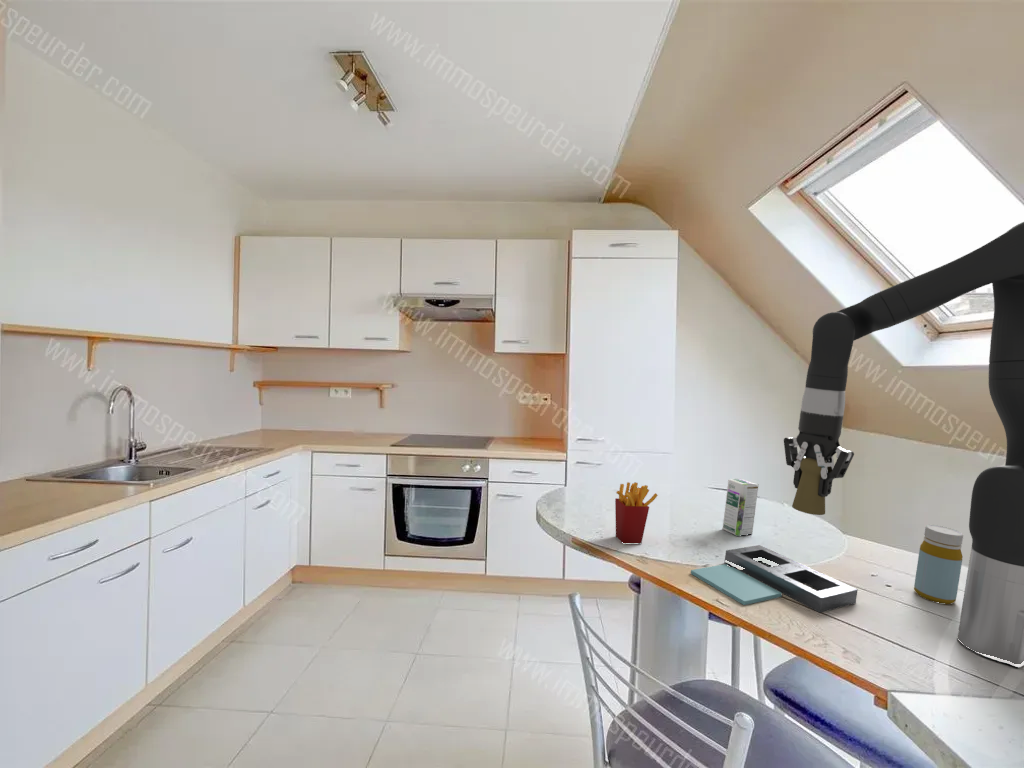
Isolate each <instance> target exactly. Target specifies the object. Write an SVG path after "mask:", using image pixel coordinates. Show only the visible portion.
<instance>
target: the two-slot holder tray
mask: <svg viewBox="0 0 1024 768" xmlns="http://www.w3.org/2000/svg"><path fill="white" fill-rule="evenodd" d="M758 557H762V558H765V559H767V560H770V561H773V562H775V563H777V564H779V565H778V566H773V567H771V566H768V565H766V564H764V563H762V562H757V561H755V560H753V558H758ZM725 560H727V561H729V562H732V563H734V564H736V565H739V566H741V567H743V568H745V569H743V570H739V571H741V572H743V573H745V574H747V575H749V576H751V577H752V578H754V579H756V580H758V581H760V582H762V583H764V584H766V585H768V586H770V587H771V588H773V589H775V590H777V591H779V592H781V593H782V595H785V596H787V597H789V598H791V599H793V600H794V601H796V602H798V603H801V604H802V605H804V606H806V607H808V608H810V609H812V610H813V611H816V612H817V613H819V614H821V613H824V612H828V611H832V610H835V609H836V610H837V609H839V608H844V607H848V606H850V605H855V604H857V598H858V589H857V588H855V587H853V586H850V585H848V584H846V583H845V582H843V581H841V580H838V579H835V578H834V577H831V576H829V575H827V574H825V573H822V572H821V571H817V570H816V569H813V568H811V567H809V566H807V565H805V564H803V563H800V562H799V561H797V560H794V559H791V558H789V557H787V556H785V555H782V554H780V553H778V552H776V551H774V550H771V549H769V548H768V547H765V546H763V545H761V544H758V545H752V546H746V547H745V546H744V547H740V548H739V547H738V548H733V549H727V550H725V555H724V561H725ZM813 588H815V589H813Z"/></svg>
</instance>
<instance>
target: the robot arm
mask: <svg viewBox="0 0 1024 768" xmlns="http://www.w3.org/2000/svg"><path fill="white" fill-rule="evenodd" d="M990 284H992V294H993V306H994V307H993V308H994V309H993V318H992V326H991V333H990V334H991V335H990V344H989V358H988V363H989V364H988V390H989V396H990V399H991V401H992V403H993V405H994V408H995V410H996V413H997V415H998V417H999V418H1000V421H1001V424H1002V426H1003V429H1004V432H1005V433H1004V434H1005V436H1006V437H1005V438H1006V454H1005V455H1006V456H1005V464H1004V465H996V466H991V467H988V468H986V469H984V470H983V471H982V472H980V473H979V474H978V475H977V477H976V479H975V481H974V484H973V488H972V491H971V498H970V499H971V500H970V510H969V521H968V530H969V533H970V536H971V537H970V538H971V541H972V542H971V548H970V549H971V550H970V554H969V555H970V556H969V560H968V569H967V573H966V579H965V587H964V593H963V598H962V599H963V600H962V606H961V612H960V619H959V624H958V630H957V637H958V638H957V640H958V639H959V640H960V641H961V642H962V643H963V644H964V645H965V646H967V647H969V648H970V649H972V650H974V651H976V652H979V653H982V654H986V655H990V656H994V657H997V658H1000V659H1003V660H1007V661H1010V662H1012V663H1014V664H1021V663H1022V662H1023V661H1024V221H1023V222H1019V223H1018V224H1016V225H1014V226H1013V227H1012V228H1011V227H1010V229H1008V230H1007V231H1006V232H1004V233H1003V234H1001V235H999V236H998V237H996V238H994V239H993V240H991V241H988V243H986V244H984V245H982V246H981V247H979V248H977V249H974V250H973V251H971V252H969V253H967V254H965V255H962V256H961V257H959V258H957V259H954V260H953V261H950V262H948V263H946V264H943V265H942V266H939V267H936V268H934V269H931V270H928V271H925V272H923V273H922V274H919V275H917V276H914V277H911V278H910V279H907V280H904V281H902V282H899V283H897V284H895V285H893V286H891V287H887V288H885V289H883V290H880V291H879V292H876V293H874V294H872V295H869V296H868V297H866V298H864V299H863V300H862V301H860V302H857V303H855V304H852V305H849V306H847V307H845V308H843V309H840V310H838V311H834V312H833V311H832V312H828V313H824V314H823V315H822V316H820V317H819V318H818V319H817V320H816V321H815V323H814V325H813V328H812V340H811V341H812V343H811V352H810V353H811V354H810V355H811V356H810V361H809V364H808V367H807V372H806V377H805V378H806V380H805V388H804V392H803V395H802V400H801V405H800V406H801V408H800V413H799V421H798V431H799V432H798V435H797V436H796V437H785V438H783V446H784V454H785V464H786V465H787V466H790V467H792V468H793V470H794V473H793V474H794V475H793V486H794V489H797V488H798V485H799V481H800V478H801V475H802V470H801V468H800V463H801V461H802V460H803V459H804V458H812V459H815V460H817V463H818V466H819V467H821V477H822V478H820V483H819V491H818V495H819V496H821V497H825V498H826V497H828V496H829V495H831V493H832V486H833V482H834V481H833V480H834V479H843V478H844V477H845V475H846V473H847V471H848V469H849V466H850V464H851V462H852V460H853V458H854V455H855V453H854V451H852V450H846V449H845V448H842V447H841V445H840V441H839V440H840V437H841V435H842V428H843V420H844V416H845V415H844V414H845V407H846V388H847V382H848V373H849V369H848V368H849V361H850V359H851V358H850V357H851V354H852V350H853V345H854V342H855V341H856V340H859V339H861V338H863V337H865V336H868V335H870V334H872V333H874V332H878V331H881V330H885V329H888V328H891V327H894V326H897V325H899V324H901V323H903V322H906V321H910V320H911V319H914V318H917V317H919V316H921V315H923V314H926V313H928V312H930V311H933V310H934V309H937V308H939V307H941V306H944V305H945V304H946V303H948V302H951V301H953V300H954V299H957V298H960V297H961V296H964V295H965V294H967V293H971V292H972V291H974V290H977V289H980V288H982V287H985V286H987V285H990ZM798 447H799V452H798ZM835 454H836V455H835ZM834 456H835V457H836V458H837V459H836V460H835V461H834V459H835V458H834ZM825 461H826V462H827V463H825ZM827 467H829V470H827ZM965 646H964V647H965Z"/></svg>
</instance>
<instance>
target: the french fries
mask: <svg viewBox="0 0 1024 768" xmlns="http://www.w3.org/2000/svg"><path fill="white" fill-rule="evenodd" d="M624 487H625V485H624V483H620V484H619V490H617V491H616V492H615V493H616V494H617V495H618V498H615V500H614V502H615V505H614V506H615V507H614V508H615V511H614V512H615V537H616V538H617V539H618V540H619V542H620V543H622V542H623V543H641V544H642V542H643V537H644V533H645V529H646V524H647V520H648V514H649V510H650V506H649V505H650V504H651V503H653V502H654V501H655V500H656V499H657V497H658V496H659V494H657V493H654V494H653V495H652V496H651V497H650V499H648V500H647V501H646V502H644V500H645V498H646V497H647V495H648V493H649V491H650V489H649V488H648V487H649V486H648V485H646V484H645V485H641V487H638V482H633V483H632V484H631V482H629V481H627V482H626V488H625V491H624ZM624 492H625V493H624ZM623 543H622V544H623Z"/></svg>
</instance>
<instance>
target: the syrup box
mask: <svg viewBox="0 0 1024 768" xmlns="http://www.w3.org/2000/svg"><path fill="white" fill-rule="evenodd" d="M726 489H727V490H726V497H725V505H724V506H725V507H724V512H723V513H724V515H723V522H722V530H723V531H725V532H728V533H730V534H732V535H734V534H735V536H736V535H737V536H736V537H741V536H740V535H746V536H748V535H747V534H752V535H753V531H754V523H755V516H756V510H757V509H756V507H757V499H758V493H759V492H758V491H759V484H758V483H754V482H752V481H749V480H746V479H743V478H729V479H728V481H727V487H726Z"/></svg>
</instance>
